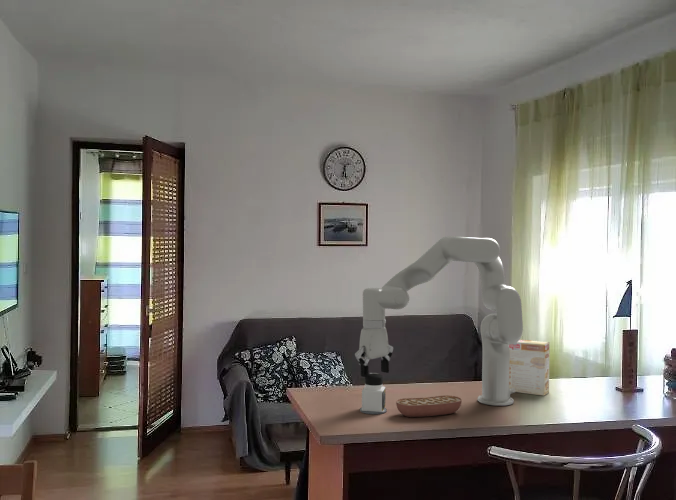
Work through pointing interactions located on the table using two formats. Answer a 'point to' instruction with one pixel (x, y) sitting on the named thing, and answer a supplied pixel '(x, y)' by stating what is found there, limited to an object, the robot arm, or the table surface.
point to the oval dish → (428, 406)
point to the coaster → (373, 412)
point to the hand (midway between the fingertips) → (375, 374)
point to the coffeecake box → (529, 367)
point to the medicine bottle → (373, 393)
